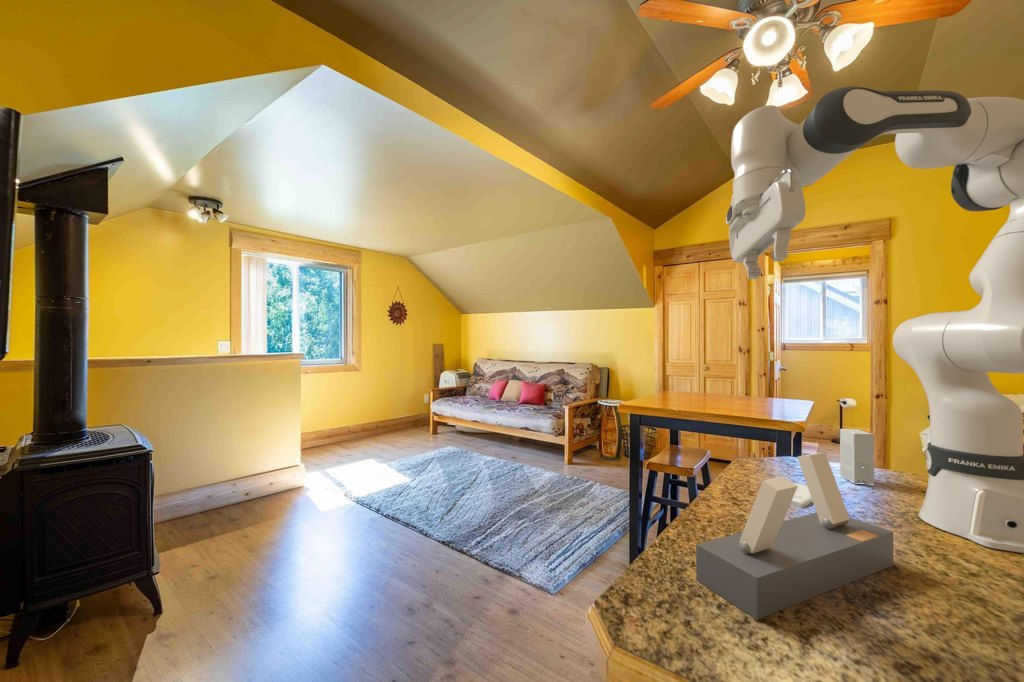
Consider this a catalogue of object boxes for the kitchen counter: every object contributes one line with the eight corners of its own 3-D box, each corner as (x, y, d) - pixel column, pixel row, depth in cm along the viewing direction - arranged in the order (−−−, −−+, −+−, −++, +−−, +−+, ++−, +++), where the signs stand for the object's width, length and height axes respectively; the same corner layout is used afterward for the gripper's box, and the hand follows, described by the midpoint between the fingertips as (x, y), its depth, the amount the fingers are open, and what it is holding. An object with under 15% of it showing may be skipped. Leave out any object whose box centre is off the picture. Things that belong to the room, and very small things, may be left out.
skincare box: (875, 486, 95) (875, 434, 95) (854, 485, 96) (853, 433, 96) (859, 477, 101) (858, 429, 101) (839, 476, 102) (838, 428, 102)
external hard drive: (826, 498, 90) (801, 510, 83) (785, 487, 97) (758, 497, 90) (826, 490, 90) (801, 502, 83) (785, 480, 97) (758, 490, 90)
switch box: (696, 580, 58) (696, 543, 58) (826, 539, 70) (826, 508, 70) (757, 619, 49) (756, 576, 49) (893, 565, 61) (893, 530, 62)
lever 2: (821, 528, 63) (796, 456, 66) (838, 523, 65) (813, 453, 68) (835, 529, 61) (808, 455, 65) (852, 524, 63) (825, 452, 66)
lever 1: (736, 546, 56) (761, 480, 53) (758, 540, 58) (784, 476, 55) (749, 558, 54) (776, 490, 51) (771, 551, 56) (798, 485, 53)
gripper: (813, 161, 64) (821, 246, 62) (755, 220, 84) (759, 286, 82) (770, 163, 65) (776, 246, 63) (722, 221, 85) (725, 286, 83)
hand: (766, 269), depth 72 cm, fingers open, 8 cm apart
